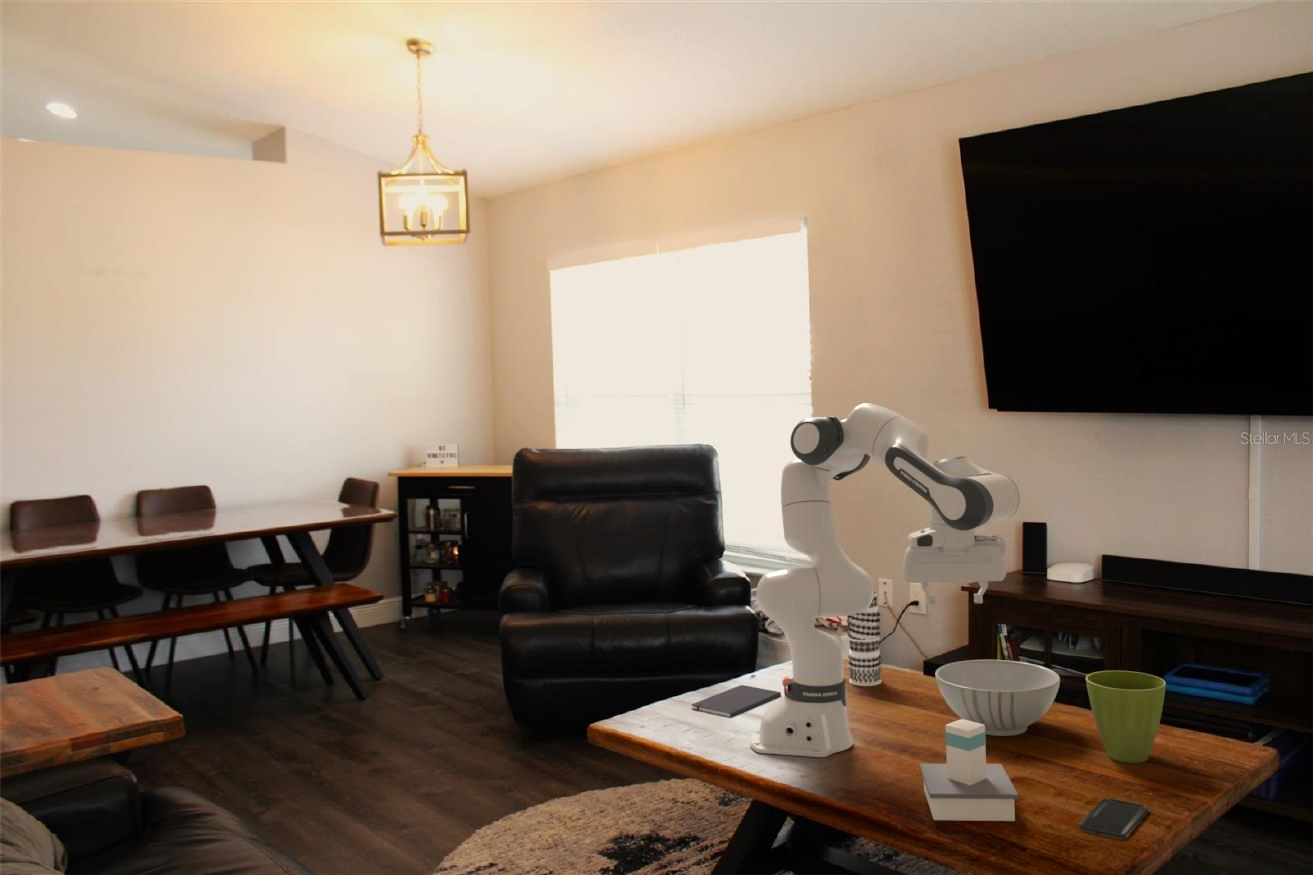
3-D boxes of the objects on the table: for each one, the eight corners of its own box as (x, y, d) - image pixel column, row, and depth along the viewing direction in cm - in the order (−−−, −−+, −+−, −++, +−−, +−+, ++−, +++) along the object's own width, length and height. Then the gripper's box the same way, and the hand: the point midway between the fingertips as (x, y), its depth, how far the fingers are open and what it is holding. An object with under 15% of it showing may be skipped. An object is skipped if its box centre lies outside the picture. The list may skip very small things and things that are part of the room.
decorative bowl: (984, 754, 216) (982, 697, 215) (914, 718, 241) (912, 667, 241) (1088, 736, 224) (1087, 681, 224) (1010, 703, 250) (1008, 654, 249)
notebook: (730, 719, 248) (781, 698, 264) (730, 713, 248) (781, 692, 264) (690, 710, 257) (741, 690, 273) (690, 704, 257) (741, 684, 273)
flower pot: (1076, 745, 219) (1074, 671, 218) (1147, 743, 218) (1145, 668, 218) (1105, 771, 204) (1103, 691, 203) (1181, 768, 203) (1179, 688, 203)
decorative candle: (848, 686, 270) (844, 592, 269) (847, 676, 279) (844, 585, 278) (883, 686, 269) (880, 591, 268) (881, 677, 278) (878, 585, 277)
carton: (946, 778, 190) (945, 724, 190) (963, 771, 194) (961, 718, 193) (970, 785, 186) (968, 731, 186) (986, 778, 189) (985, 724, 189)
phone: (1149, 806, 184) (1124, 836, 173) (1150, 813, 184) (1124, 842, 173) (1104, 797, 189) (1076, 825, 178) (1104, 803, 189) (1076, 831, 178)
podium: (930, 821, 184) (929, 793, 183) (920, 789, 199) (919, 763, 198) (1019, 822, 182) (1018, 794, 181) (1001, 789, 197) (1001, 764, 196)
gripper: (1001, 532, 212) (1004, 599, 212) (900, 535, 214) (902, 601, 215) (1008, 536, 205) (1010, 605, 206) (903, 539, 208) (906, 607, 209)
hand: (954, 603), depth 210 cm, fingers open, 8 cm apart
